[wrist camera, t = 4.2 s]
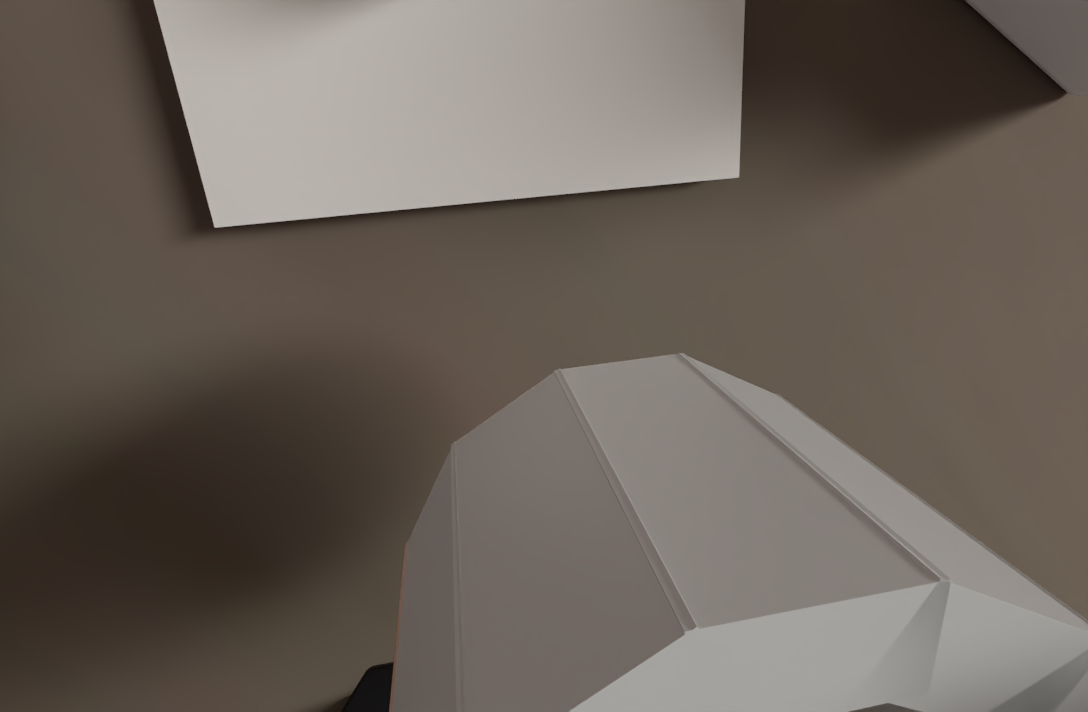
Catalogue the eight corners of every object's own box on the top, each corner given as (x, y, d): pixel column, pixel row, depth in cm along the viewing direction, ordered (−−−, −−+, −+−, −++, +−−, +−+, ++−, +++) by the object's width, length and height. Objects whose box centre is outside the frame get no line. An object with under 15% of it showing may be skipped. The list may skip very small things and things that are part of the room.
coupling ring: (806, 673, 10) (1049, 1023, 6) (444, 749, 10) (444, 1209, 5) (840, 330, 8) (1254, 518, 4) (375, 392, 7) (286, 706, 3)
